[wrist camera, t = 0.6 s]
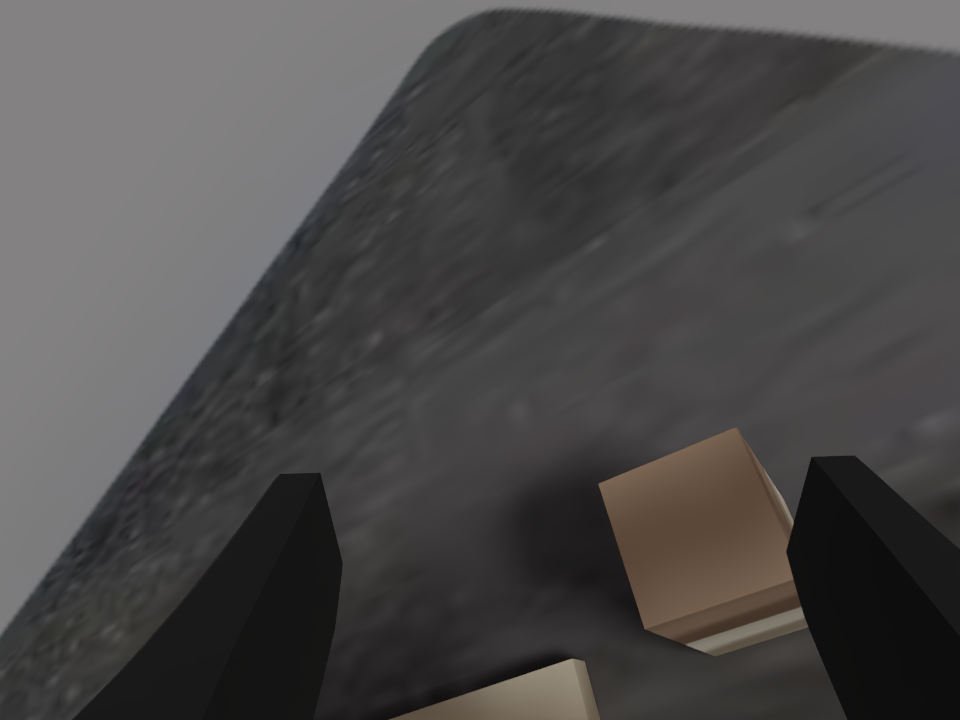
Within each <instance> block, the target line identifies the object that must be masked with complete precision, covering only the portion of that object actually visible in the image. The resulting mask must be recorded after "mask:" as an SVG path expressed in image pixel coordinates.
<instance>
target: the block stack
mask: <svg viewBox="0 0 960 720" xmlns="http://www.w3.org/2000/svg"><path fill="white" fill-rule="evenodd" d="M598 485H599V488H600V491H601V494H602V497H603V500H604V503H605V506H606V510H607V513H608V516H609V519H610V522H611V525H612V528H613V532H614V535H615V538H616V541H617V544H618V547H619V550H620V553H621V557H622V560H623V563H624V566H625V569H626V572H627V575H628V578H629V582H630V585H631V588H632V591H633V594H634V597H635V600H636V603H637V607H638V610H639V613H640V616H641V619H642V622H643V625H644V629H645V630H648V631H650V632H653V633H656V634H658V635H661V636H663V637H666V638H668V639H671V640H674V641H676V642H679V643H681V644H684V645H687V646H689V647H692V648H694V649H697V650H700V651H702V652H705V653H707V654H710V655H712V656H718V655H721V654H724V653H727V652H731V651H734V650H737V649H740V648H743V647H747V646H750V645H753V644H756V643H759V642H762V641H766V640H769V639H772V638H775V637H778V636H782V635H785V634H788V633H791V632H794V631H798V630H801V629H804V628H807V627H808V625H807V622H806V620H805V617H804V614H803V611H802V607H801V604H800V601H799V597H798V594H797V590H796V587H795V583H794V580H793V576H792V572H791V568H790V565H789V561H788V557H787V554H786V550H787V546H788V542H789V539H790V535H791V531H792V528H793V524H794V521H793V519H792V517H791V514H790V512H789V510H788V508H787V506H786V504H785V502H784V499H783V498H782V496H781V495H780V493H779V492H778V490H777V489H776V487H775V485H774V484H773V482H772V481H771V479H770V478H769V476H768V475H767V473H766V472H765V470H764V469H763V467H762V466H761V464H760V463H759V461H758V460H757V458H756V456H755V455H754V453H753V452H752V450H751V449H750V447H749V446H748V444H747V443H746V441H745V440H744V438H743V437H742V435H741V434H740V432H739V430H738V429H737V427H736V428H733V429H731V430H728V431H726V432H723V433H721V434H718V435H716V436H714V437H711V438H709V439H706V440H704V441H701V442H699V443H697V444H694V445H692V446H689V447H687V448H684V449H682V450H679V451H677V452H675V453H672V454H670V455H667V456H665V457H662V458H660V459H658V460H655V461H653V462H650V463H648V464H645V465H643V466H640V467H638V468H636V469H633V470H631V471H628V472H626V473H623V474H621V475H619V476H616V477H614V478H611V479H609V480H606V481H604V482H602V483H599V484H598Z"/></svg>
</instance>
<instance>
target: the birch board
mask: <svg viewBox="0 0 960 720" xmlns="http://www.w3.org/2000/svg"><path fill="white" fill-rule="evenodd" d="M389 720H600V717H599V713H598V709H597V706H596V702H595V698H594V695H593V691H592V687H591V683H590V680H589V676H588V672H587V669H586V665H585V661H581V660H577V659H569V660H566V661H563V662H560V663H557V664H554V665H551V666H548V667H545V668H542V669H539V670H536V671H533V672H530V673H527V674H524V675H521V676H518V677H515V678H512V679H509V680H506V681H503V682H500V683H497V684H494V685H491V686H488V687H485V688H482V689H479V690H476V691H473V692H470V693H467V694H464V695H461V696H458V697H455V698H452V699H449V700H446V701H443V702H440V703H437V704H434V705H431V706H428V707H425V708H422V709H419V710H416V711H413V712H410V713H407V714H404V715H401V716H398V717H395V718H392V719H389Z"/></svg>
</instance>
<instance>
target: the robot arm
mask: <svg viewBox="0 0 960 720" xmlns="http://www.w3.org/2000/svg"><path fill="white" fill-rule="evenodd" d="M786 554H787V557H788V561H789V565H790V568H791V572H792V576H793V580H794V583H795V587H796V590H797V594H798V597H799V601H800V604H801V607H802V611H803V614H804V617H805V620H806V622H807V625H808V627H809V630H810V632H811V635H812V637H813V639H814V642H815V644H816V647H817V649H818V651H819V654H820V656H821V658H822V661H823V663H824V666H825V668H826V670H827V673H828V675H829V677H830V680H831V682H832V684H833V687H834V689H835V691H836V694H837V696H838V698H839V701H840V703H841V706H842V708H843V710H844V713H845V715H846V717H847V720H960V549H959V548H958V547H956V546H955V545H954V544H953V543H952V542H951V541H950V540H948V539H947V538H946V537H945V536H944V535H943V534H942V533H940V532H939V531H938V530H937V529H936V528H935V527H934V526H933V525H931V524H930V523H929V522H928V521H927V520H926V519H925V518H924V517H922V516H921V515H920V514H919V513H918V512H917V511H916V510H915V509H914V508H912V507H911V506H910V505H909V504H908V503H907V502H906V501H905V500H904V499H903V498H901V497H900V496H899V495H898V494H897V493H896V492H895V491H894V490H893V489H892V488H890V487H889V486H888V485H887V484H886V483H885V482H884V481H883V480H882V479H880V478H879V477H878V476H877V475H876V474H875V473H874V472H873V471H872V470H870V469H869V468H868V467H867V466H866V465H865V464H864V463H863V462H861V461H860V460H859V459H858V458H857V457H856V456H827V457H811V461H810V465H809V468H808V472H807V476H806V480H805V483H804V487H803V491H802V494H801V498H800V502H799V505H798V509H797V513H796V516H795V520H794V524H793V528H792V531H791V535H790V539H789V542H788V546H787V550H786ZM342 565H343V563H342V559H341V555H340V551H339V547H338V543H337V539H336V534H335V530H334V526H333V522H332V518H331V514H330V510H329V506H328V502H327V498H326V494H325V490H324V486H323V482H322V478H321V474H320V473H301V474H280V475H279V476H278V477H277V478H276V479H275V480H274V481H273V482H272V484H271V485H270V487H269V488H268V489H267V491H266V492H265V494H264V495H263V496H262V498H261V499H260V500H259V502H258V503H257V505H256V506H255V507H254V509H253V510H252V511H251V513H250V514H249V516H248V517H247V518H246V520H245V521H244V522H243V524H242V525H241V526H240V528H239V529H238V530H237V532H236V533H235V534H234V536H233V537H232V538H231V540H230V541H229V542H228V544H227V545H226V546H225V548H224V549H223V550H222V552H221V553H220V554H219V555H218V557H217V558H216V559H215V561H214V562H213V563H212V564H211V566H210V567H209V568H208V569H207V571H206V572H205V573H204V574H203V576H202V577H201V578H200V580H199V581H198V582H197V583H196V585H195V586H194V587H193V588H192V590H191V591H190V592H189V593H188V595H187V596H186V597H185V598H184V599H183V601H182V602H181V603H180V604H179V605H178V606H177V608H176V609H175V610H174V611H173V612H172V613H171V615H170V616H169V617H168V618H167V619H166V620H165V621H164V623H163V624H162V625H161V626H160V627H159V628H158V630H157V631H156V632H155V633H154V634H153V635H152V636H151V638H150V639H149V640H148V641H147V642H146V643H145V645H144V646H143V647H142V648H141V649H140V650H139V651H138V652H137V653H136V655H135V656H134V657H133V658H132V659H131V660H130V661H129V662H128V663H127V664H126V665H125V666H124V667H123V669H122V670H121V671H120V672H119V673H118V674H117V675H116V676H115V677H114V678H113V679H112V680H111V681H110V682H109V683H108V684H107V685H106V686H105V687H104V688H103V689H102V690H101V691H100V692H99V693H98V694H97V695H96V696H95V697H94V698H93V699H92V700H91V701H90V702H89V703H88V704H87V705H86V706H85V707H84V708H83V709H82V710H81V711H80V712H79V713H78V714H77V715H76V716H75V717H74V718H73V719H72V720H313V717H314V713H315V709H316V705H317V701H318V697H319V693H320V689H321V685H322V680H323V676H324V672H325V668H326V664H327V659H328V655H329V651H330V647H331V643H332V638H333V634H334V630H335V623H336V616H337V608H338V600H339V592H340V583H341V574H342Z"/></svg>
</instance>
